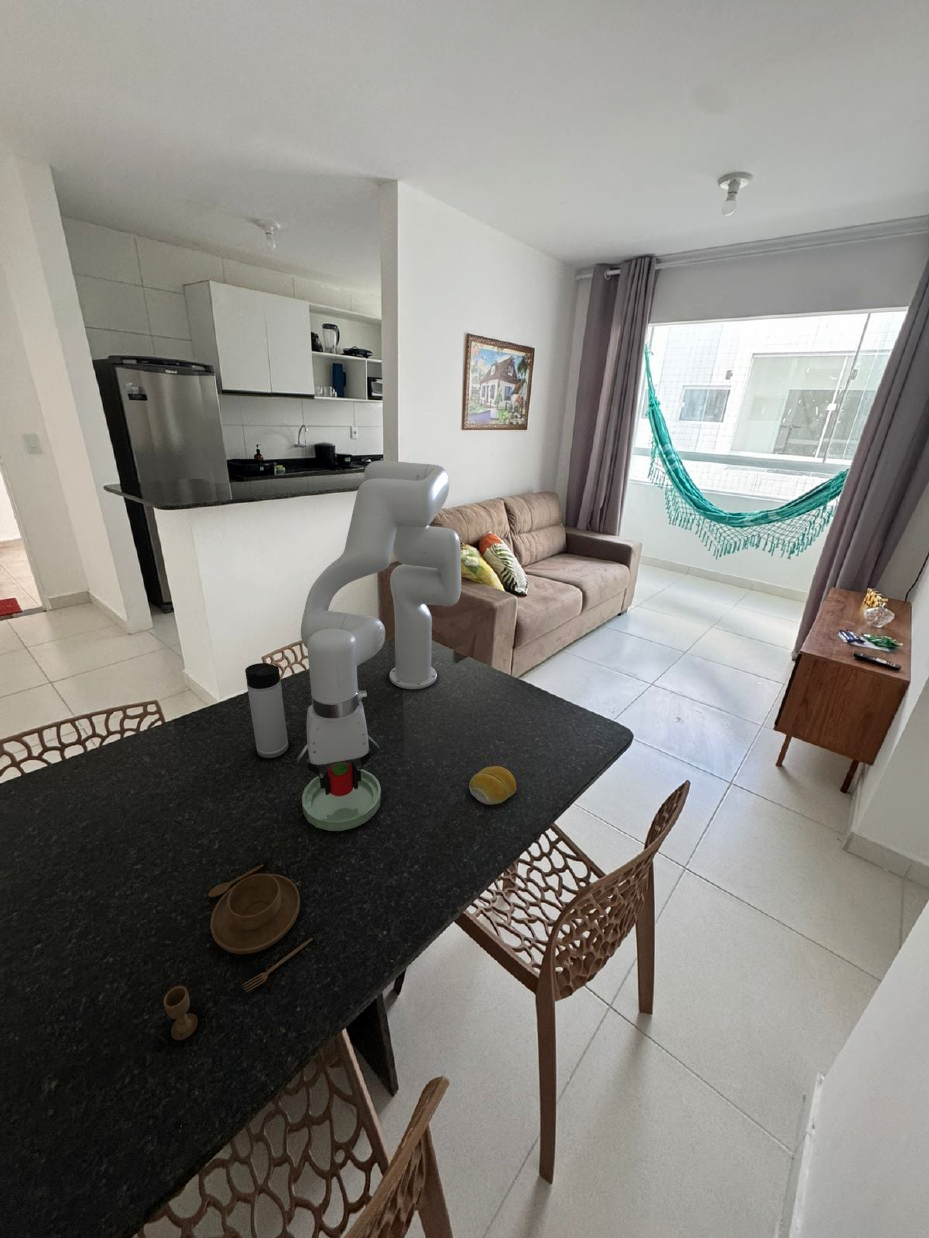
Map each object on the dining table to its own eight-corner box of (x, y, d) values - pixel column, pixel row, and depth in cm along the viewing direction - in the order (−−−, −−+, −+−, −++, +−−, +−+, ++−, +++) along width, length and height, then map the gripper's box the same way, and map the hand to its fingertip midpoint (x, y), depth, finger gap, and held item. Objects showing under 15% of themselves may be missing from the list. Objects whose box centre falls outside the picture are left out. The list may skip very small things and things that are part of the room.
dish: (300, 786, 98) (299, 775, 97) (373, 771, 103) (373, 761, 102) (306, 841, 86) (304, 830, 85) (387, 822, 91) (387, 811, 90)
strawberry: (327, 782, 94) (325, 762, 92) (351, 777, 95) (350, 757, 94) (330, 798, 90) (328, 777, 88) (355, 793, 92) (354, 773, 90)
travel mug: (249, 754, 106) (235, 670, 98) (271, 736, 112) (260, 656, 104) (273, 763, 104) (261, 678, 96) (294, 744, 110) (285, 662, 102)
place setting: (328, 931, 72) (325, 902, 70) (178, 1050, 59) (168, 1019, 56) (267, 858, 83) (263, 831, 81) (128, 944, 69) (118, 915, 67)
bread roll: (523, 789, 100) (525, 772, 99) (493, 812, 94) (495, 796, 93) (491, 768, 105) (492, 752, 104) (461, 789, 99) (462, 773, 98)
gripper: (381, 683, 92) (382, 765, 99) (281, 697, 86) (291, 782, 93) (389, 705, 85) (391, 791, 92) (283, 721, 80) (293, 811, 87)
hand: (341, 786), depth 93 cm, fingers closed on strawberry, 4 cm apart
